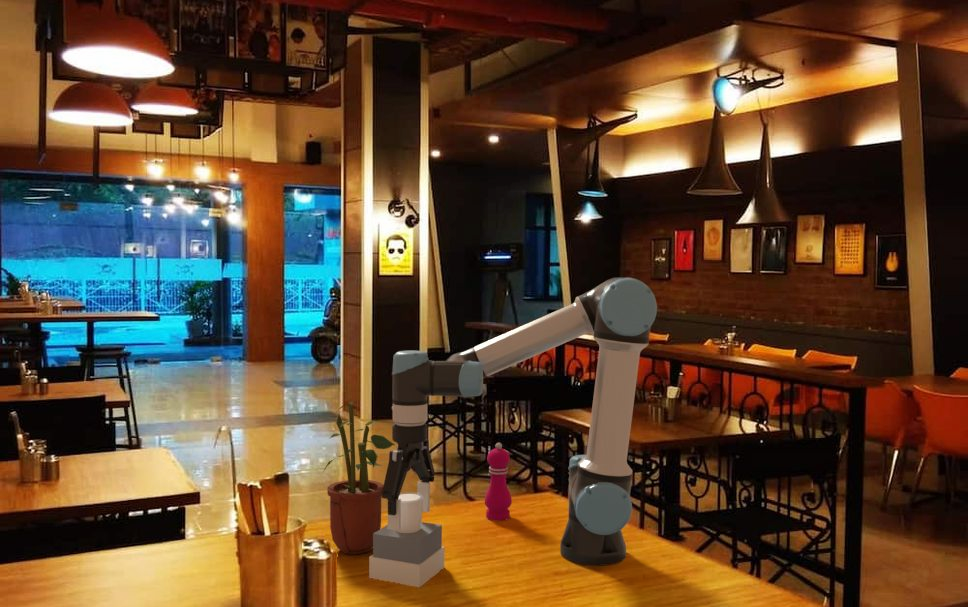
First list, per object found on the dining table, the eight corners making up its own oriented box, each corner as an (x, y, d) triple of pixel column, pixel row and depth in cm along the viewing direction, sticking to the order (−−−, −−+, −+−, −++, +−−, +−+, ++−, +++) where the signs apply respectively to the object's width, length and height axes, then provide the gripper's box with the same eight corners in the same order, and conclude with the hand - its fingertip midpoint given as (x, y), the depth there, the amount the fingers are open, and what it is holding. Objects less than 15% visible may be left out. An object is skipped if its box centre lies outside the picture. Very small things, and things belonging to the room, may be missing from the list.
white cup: (409, 536, 168) (408, 504, 167) (385, 529, 172) (384, 498, 171) (430, 527, 173) (429, 495, 173) (406, 521, 177) (406, 490, 177)
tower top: (441, 547, 176) (441, 524, 175) (419, 564, 165) (419, 540, 165) (397, 540, 180) (397, 518, 179) (373, 556, 169) (373, 533, 169)
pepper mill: (482, 520, 208) (483, 445, 207) (486, 512, 216) (487, 439, 215) (509, 522, 207) (510, 446, 206) (513, 514, 214) (514, 440, 213)
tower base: (444, 568, 176) (444, 546, 176) (419, 589, 165) (419, 565, 165) (396, 560, 181) (396, 539, 181) (369, 579, 170) (369, 556, 170)
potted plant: (368, 563, 178) (368, 408, 176) (307, 554, 183) (307, 403, 181) (400, 538, 194) (401, 396, 193) (344, 530, 199) (344, 392, 198)
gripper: (420, 411, 185) (419, 501, 186) (364, 432, 161) (364, 535, 163) (449, 414, 182) (449, 505, 183) (397, 435, 159) (396, 540, 160)
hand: (409, 519), depth 173 cm, fingers open, 13 cm apart
